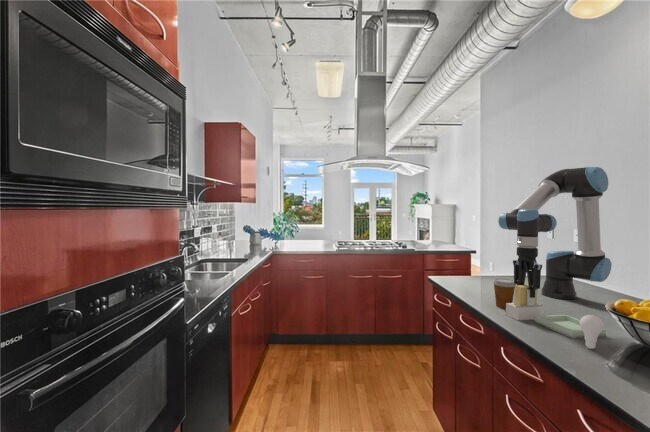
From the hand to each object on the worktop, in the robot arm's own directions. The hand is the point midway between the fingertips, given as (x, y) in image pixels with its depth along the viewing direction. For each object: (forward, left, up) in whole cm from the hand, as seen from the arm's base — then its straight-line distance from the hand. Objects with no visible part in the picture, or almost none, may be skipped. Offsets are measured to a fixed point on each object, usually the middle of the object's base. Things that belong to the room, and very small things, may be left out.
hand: (526, 303), depth 144 cm
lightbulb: (+3, +31, -6) cm, 32 cm away
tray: (-6, +14, -6) cm, 17 cm away
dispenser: (0, -1, -6) cm, 6 cm away
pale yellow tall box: (0, -1, -6) cm, 6 cm away
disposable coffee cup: (-2, -16, -6) cm, 17 cm away
